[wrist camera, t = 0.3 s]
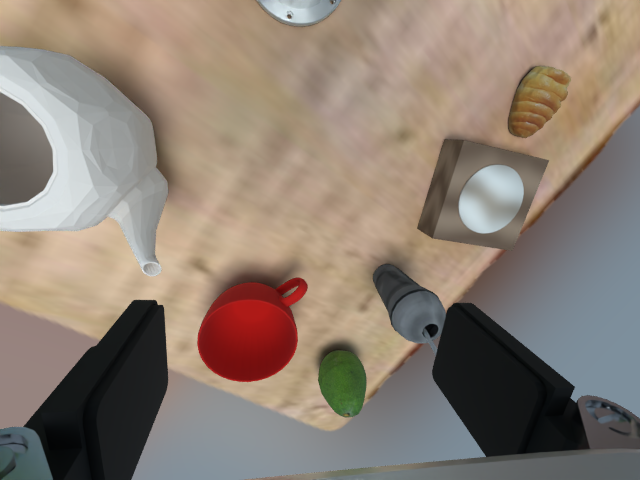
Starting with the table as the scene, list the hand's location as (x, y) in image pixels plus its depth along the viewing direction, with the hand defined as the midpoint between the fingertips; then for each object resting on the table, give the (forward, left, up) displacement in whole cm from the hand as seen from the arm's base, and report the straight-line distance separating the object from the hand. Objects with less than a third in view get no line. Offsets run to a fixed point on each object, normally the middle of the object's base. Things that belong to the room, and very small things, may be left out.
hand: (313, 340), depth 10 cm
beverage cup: (+13, +20, -37) cm, 44 cm away
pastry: (-18, +35, -37) cm, 54 cm away
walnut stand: (-3, +30, -37) cm, 48 cm away
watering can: (0, -21, -37) cm, 42 cm away
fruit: (+30, +15, -37) cm, 50 cm away
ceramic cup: (+19, 0, -37) cm, 41 cm away
